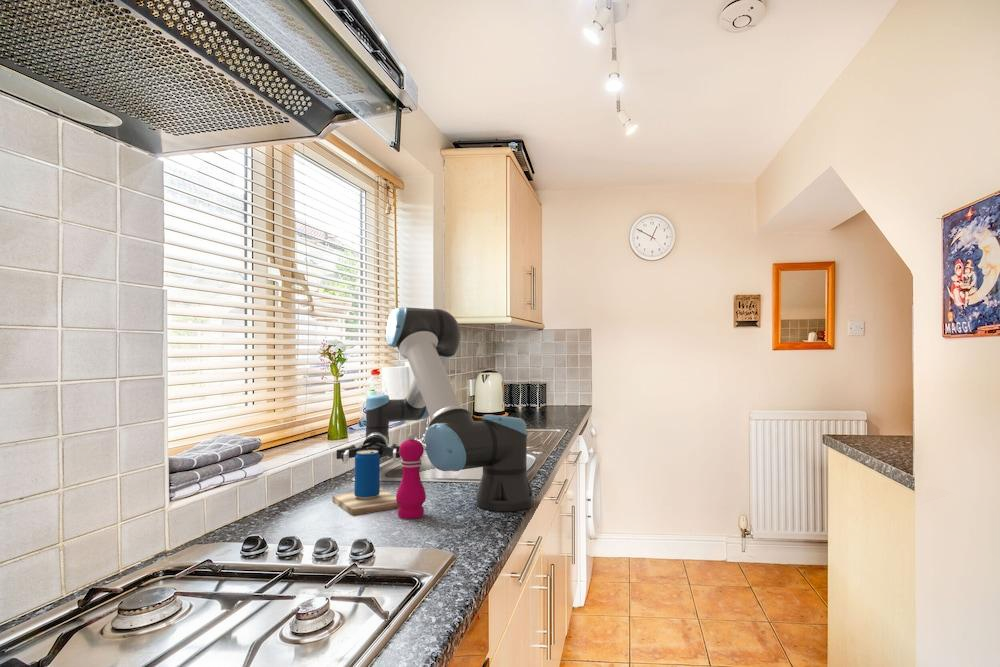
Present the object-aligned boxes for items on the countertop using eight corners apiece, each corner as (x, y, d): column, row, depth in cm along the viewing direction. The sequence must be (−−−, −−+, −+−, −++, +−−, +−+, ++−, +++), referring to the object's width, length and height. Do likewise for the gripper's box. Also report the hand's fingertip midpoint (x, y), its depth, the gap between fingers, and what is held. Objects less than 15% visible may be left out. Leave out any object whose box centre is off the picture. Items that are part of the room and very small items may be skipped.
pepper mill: (419, 520, 132) (420, 435, 133) (391, 518, 134) (391, 435, 135) (429, 512, 139) (430, 431, 140) (402, 510, 141) (402, 431, 142)
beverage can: (384, 496, 148) (384, 451, 149) (363, 501, 144) (363, 454, 144) (370, 492, 153) (370, 448, 153) (349, 497, 148) (350, 451, 148)
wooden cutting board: (405, 506, 144) (405, 500, 144) (352, 515, 137) (352, 509, 137) (381, 493, 158) (382, 488, 158) (332, 501, 150) (332, 495, 150)
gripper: (414, 456, 180) (414, 470, 159) (334, 459, 176) (323, 473, 155) (414, 433, 180) (414, 443, 159) (334, 435, 176) (324, 446, 156)
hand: (369, 458), depth 157 cm, fingers open, 13 cm apart
